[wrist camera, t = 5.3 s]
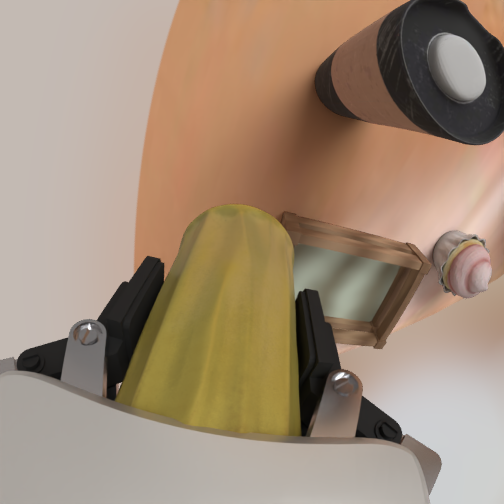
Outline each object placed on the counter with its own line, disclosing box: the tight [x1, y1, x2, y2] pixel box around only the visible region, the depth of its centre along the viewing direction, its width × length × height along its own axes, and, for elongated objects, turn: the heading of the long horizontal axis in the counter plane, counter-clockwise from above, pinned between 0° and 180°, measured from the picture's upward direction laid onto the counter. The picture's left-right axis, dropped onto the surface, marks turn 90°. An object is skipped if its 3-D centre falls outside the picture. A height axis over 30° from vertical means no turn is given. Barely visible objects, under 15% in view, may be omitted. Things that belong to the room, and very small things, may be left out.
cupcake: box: [433, 231, 492, 298], centre depth 29 cm, size 9×9×10 cm
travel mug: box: [315, 0, 504, 145], centre depth 16 cm, size 8×8×20 cm
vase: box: [115, 204, 302, 437], centre depth 9 cm, size 6×6×14 cm
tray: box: [281, 212, 432, 349], centre depth 33 cm, size 18×14×5 cm
